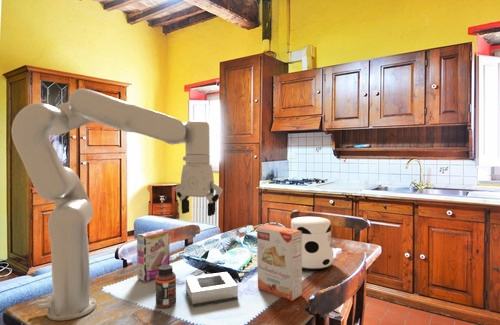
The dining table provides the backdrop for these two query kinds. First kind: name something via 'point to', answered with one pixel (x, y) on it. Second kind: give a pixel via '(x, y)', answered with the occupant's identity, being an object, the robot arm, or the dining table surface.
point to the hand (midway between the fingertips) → (198, 214)
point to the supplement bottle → (165, 287)
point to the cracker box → (280, 261)
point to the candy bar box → (152, 253)
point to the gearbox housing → (211, 289)
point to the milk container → (314, 242)
